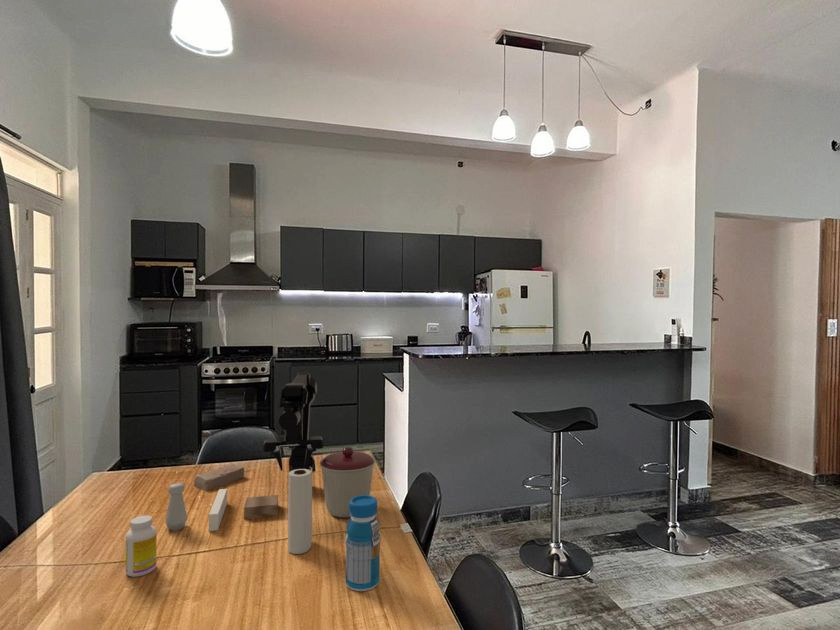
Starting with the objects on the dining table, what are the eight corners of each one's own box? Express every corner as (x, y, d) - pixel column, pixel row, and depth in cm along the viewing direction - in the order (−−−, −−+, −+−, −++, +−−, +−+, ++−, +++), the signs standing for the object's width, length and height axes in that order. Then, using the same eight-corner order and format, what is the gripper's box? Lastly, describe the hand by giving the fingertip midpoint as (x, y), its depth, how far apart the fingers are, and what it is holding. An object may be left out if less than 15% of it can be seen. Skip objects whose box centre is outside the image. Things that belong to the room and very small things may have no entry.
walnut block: (278, 506, 156) (278, 494, 156) (277, 516, 148) (277, 504, 148) (246, 509, 153) (246, 497, 153) (244, 520, 145) (244, 507, 145)
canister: (316, 503, 158) (317, 441, 157) (368, 497, 163) (369, 437, 163) (322, 527, 140) (322, 457, 140) (380, 519, 146) (381, 452, 146)
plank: (227, 503, 157) (227, 488, 157) (217, 530, 138) (218, 513, 138) (219, 504, 156) (219, 489, 156) (208, 531, 137) (208, 514, 137)
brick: (206, 491, 168) (206, 478, 168) (192, 487, 172) (193, 474, 172) (245, 478, 182) (245, 466, 182) (232, 474, 186) (232, 462, 186)
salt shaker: (191, 525, 141) (191, 482, 140) (174, 533, 135) (174, 489, 135) (178, 521, 143) (178, 479, 143) (161, 529, 138) (161, 486, 138)
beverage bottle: (350, 596, 106) (350, 509, 106) (341, 577, 114) (341, 496, 114) (384, 588, 110) (385, 504, 110) (373, 569, 118) (374, 491, 117)
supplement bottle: (162, 566, 118) (162, 516, 118) (139, 580, 112) (139, 527, 112) (143, 561, 120) (143, 512, 120) (119, 574, 114) (119, 522, 114)
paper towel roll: (290, 557, 123) (291, 476, 123) (285, 546, 129) (286, 469, 128) (317, 550, 127) (317, 472, 126) (311, 541, 132) (312, 466, 132)
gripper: (321, 415, 163) (320, 460, 163) (265, 418, 158) (265, 464, 158) (323, 423, 152) (322, 470, 152) (263, 426, 148) (263, 475, 148)
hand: (293, 469), depth 153 cm, fingers open, 7 cm apart
